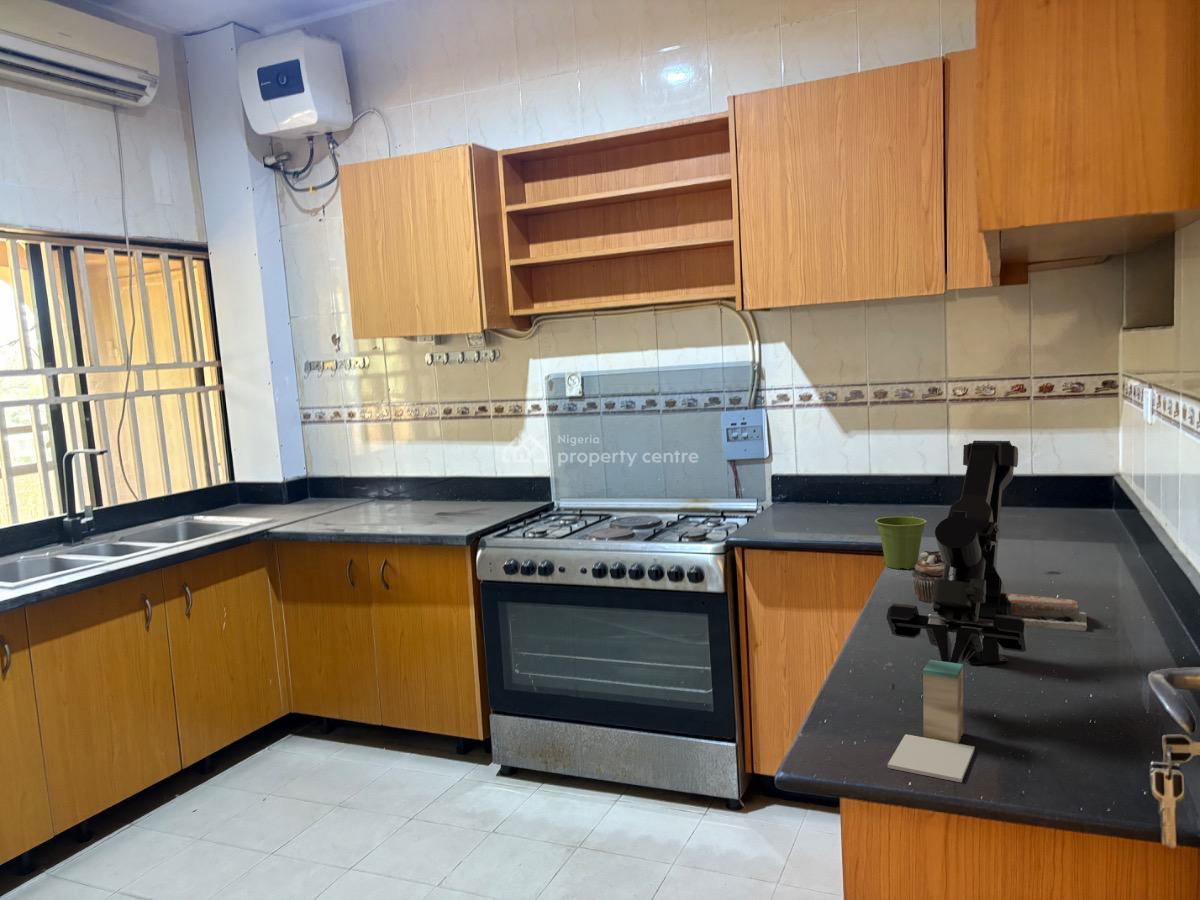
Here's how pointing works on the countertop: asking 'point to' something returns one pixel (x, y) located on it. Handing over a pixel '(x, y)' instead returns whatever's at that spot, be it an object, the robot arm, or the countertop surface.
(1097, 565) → the countertop surface
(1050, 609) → the stepped brick
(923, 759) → the mat
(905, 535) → the plant pot
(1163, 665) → the countertop surface
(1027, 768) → the countertop surface
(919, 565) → the cupcake
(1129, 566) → the countertop surface
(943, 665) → the block
